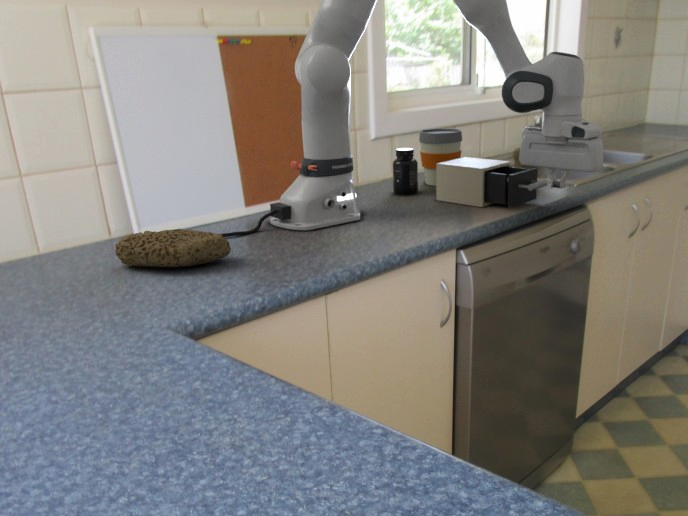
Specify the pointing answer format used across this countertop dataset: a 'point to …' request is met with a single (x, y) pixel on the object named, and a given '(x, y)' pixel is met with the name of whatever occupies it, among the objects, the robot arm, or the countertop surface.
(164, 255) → the sponge
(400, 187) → the supplement bottle
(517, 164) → the cork
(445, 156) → the reusable coffee cup
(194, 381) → the countertop surface
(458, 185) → the cabinet
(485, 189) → the drawer
